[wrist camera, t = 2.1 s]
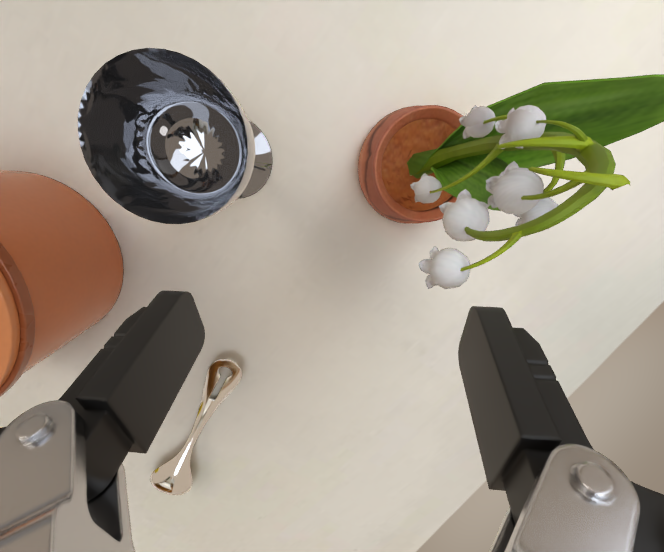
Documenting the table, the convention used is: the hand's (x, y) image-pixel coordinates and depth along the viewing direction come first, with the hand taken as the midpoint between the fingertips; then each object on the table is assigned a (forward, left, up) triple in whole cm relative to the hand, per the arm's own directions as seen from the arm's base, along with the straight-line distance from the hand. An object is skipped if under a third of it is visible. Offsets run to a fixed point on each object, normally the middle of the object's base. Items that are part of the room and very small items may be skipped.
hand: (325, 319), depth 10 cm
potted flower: (+1, +9, -24) cm, 26 cm away
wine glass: (-9, -3, -24) cm, 26 cm away
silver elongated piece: (+11, -24, -24) cm, 36 cm away
